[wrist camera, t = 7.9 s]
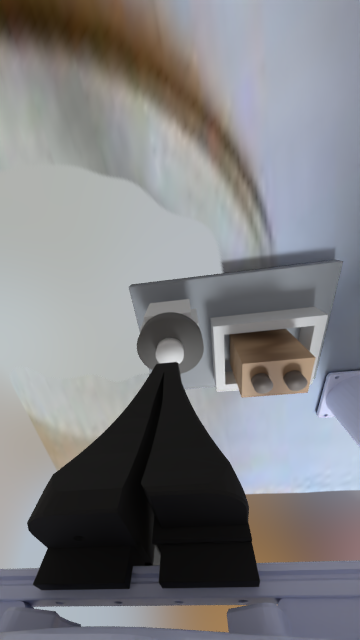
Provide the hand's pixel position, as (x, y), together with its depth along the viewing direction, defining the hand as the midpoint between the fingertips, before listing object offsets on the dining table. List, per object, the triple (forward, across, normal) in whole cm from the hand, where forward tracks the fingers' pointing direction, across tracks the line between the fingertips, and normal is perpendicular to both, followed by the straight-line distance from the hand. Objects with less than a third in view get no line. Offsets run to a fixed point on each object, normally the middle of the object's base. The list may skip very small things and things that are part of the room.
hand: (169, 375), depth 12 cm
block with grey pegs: (+9, -9, +5) cm, 13 cm away
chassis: (+10, -6, +4) cm, 12 cm away
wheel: (+7, 0, 0) cm, 7 cm away
